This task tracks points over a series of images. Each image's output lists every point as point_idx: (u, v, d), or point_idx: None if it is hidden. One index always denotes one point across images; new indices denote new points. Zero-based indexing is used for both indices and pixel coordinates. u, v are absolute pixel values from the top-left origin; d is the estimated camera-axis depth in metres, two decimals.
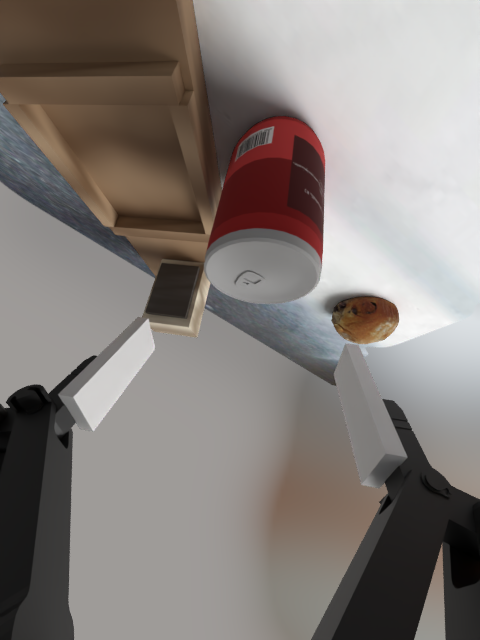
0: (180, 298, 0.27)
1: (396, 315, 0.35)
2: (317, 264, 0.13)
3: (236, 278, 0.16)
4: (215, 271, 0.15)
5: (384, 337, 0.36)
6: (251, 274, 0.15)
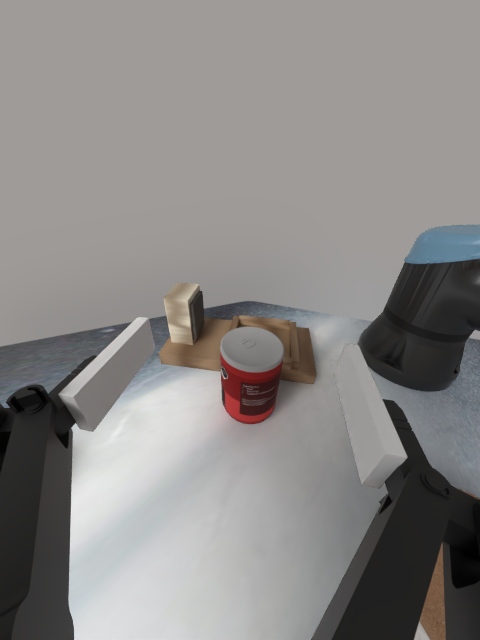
0: (196, 313, 0.38)
1: None
2: (267, 366, 0.24)
3: (247, 337, 0.29)
4: (255, 331, 0.30)
5: None
6: (252, 343, 0.28)
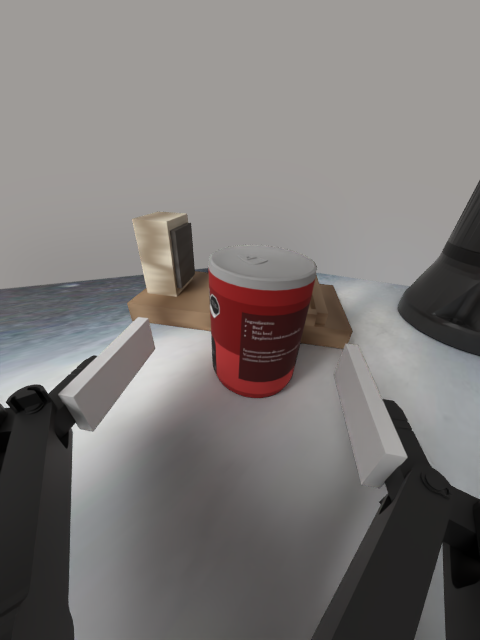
0: (181, 248, 0.27)
1: None
2: (291, 280, 0.13)
3: (254, 255, 0.18)
4: (266, 250, 0.19)
5: None
6: (263, 260, 0.17)
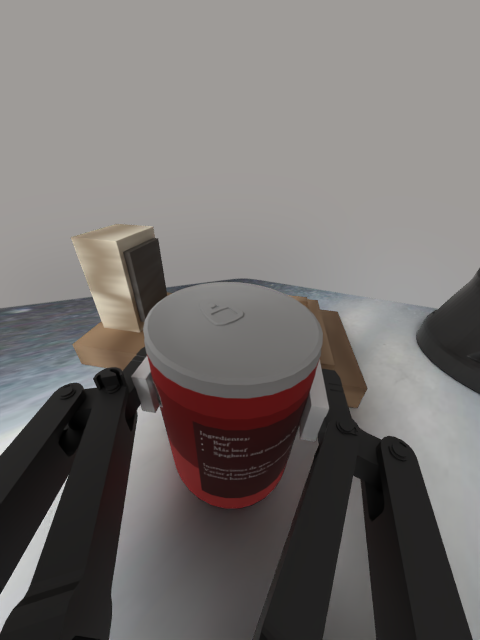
0: (142, 273, 0.21)
1: None
2: (277, 380, 0.07)
3: (225, 303, 0.12)
4: (245, 291, 0.13)
5: None
6: (236, 314, 0.11)
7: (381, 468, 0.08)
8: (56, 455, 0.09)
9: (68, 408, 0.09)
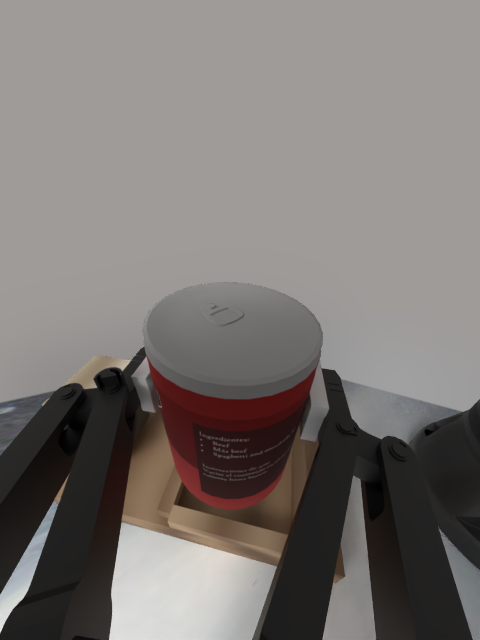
0: None
1: None
2: (276, 380, 0.07)
3: (224, 303, 0.12)
4: (245, 291, 0.13)
5: None
6: (236, 314, 0.11)
7: (381, 468, 0.08)
8: (56, 455, 0.09)
9: (68, 408, 0.09)
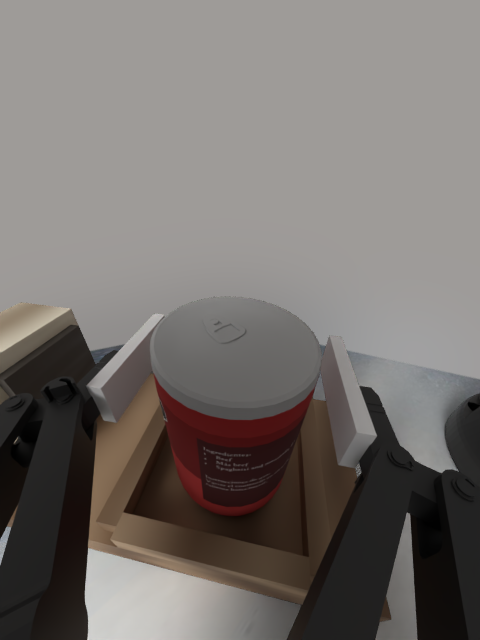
0: None
1: None
2: (277, 402, 0.07)
3: (227, 318, 0.12)
4: (247, 306, 0.13)
5: None
6: (239, 331, 0.11)
7: None
8: (10, 468, 0.08)
9: (18, 418, 0.09)
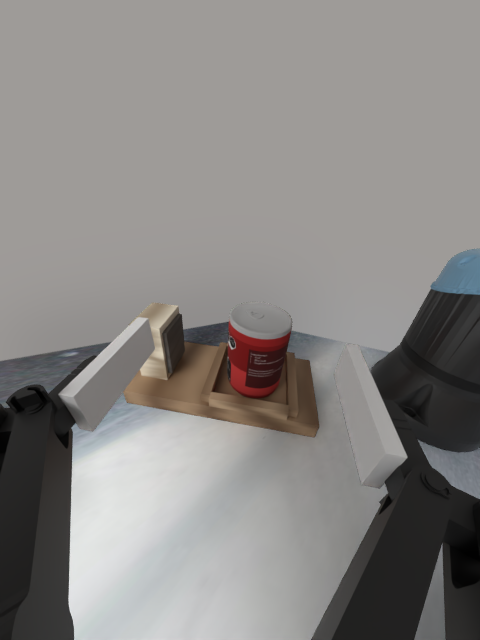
0: (172, 342, 0.30)
1: None
2: (276, 334, 0.24)
3: (255, 310, 0.29)
4: (263, 305, 0.30)
5: None
6: (261, 315, 0.28)
7: None
8: None
9: None
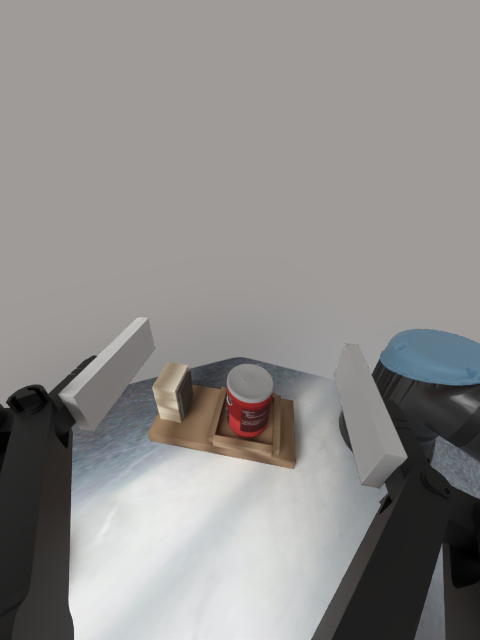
0: (184, 395, 0.40)
1: None
2: (260, 399, 0.34)
3: (247, 373, 0.38)
4: (253, 367, 0.39)
5: None
6: (251, 378, 0.37)
7: None
8: None
9: None
